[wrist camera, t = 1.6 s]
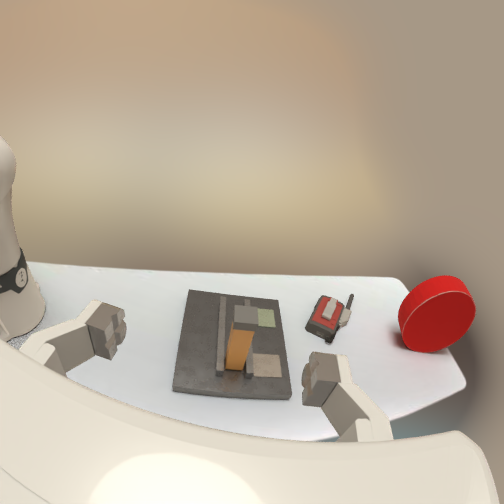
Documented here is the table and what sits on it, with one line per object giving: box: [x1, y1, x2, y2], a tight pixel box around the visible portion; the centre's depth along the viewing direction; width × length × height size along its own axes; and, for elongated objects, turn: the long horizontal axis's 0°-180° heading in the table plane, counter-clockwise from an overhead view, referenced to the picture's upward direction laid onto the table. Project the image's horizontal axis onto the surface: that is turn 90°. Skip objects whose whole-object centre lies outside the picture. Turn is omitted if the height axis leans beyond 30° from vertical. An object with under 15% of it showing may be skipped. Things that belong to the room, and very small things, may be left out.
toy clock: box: [398, 276, 476, 353], centre depth 54 cm, size 20×6×20 cm, turn 78°
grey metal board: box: [173, 290, 292, 400], centre depth 51 cm, size 20×24×4 cm
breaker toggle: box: [225, 305, 259, 370], centre depth 43 cm, size 3×3×13 cm
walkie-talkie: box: [305, 294, 354, 343], centre depth 64 cm, size 9×4×20 cm
